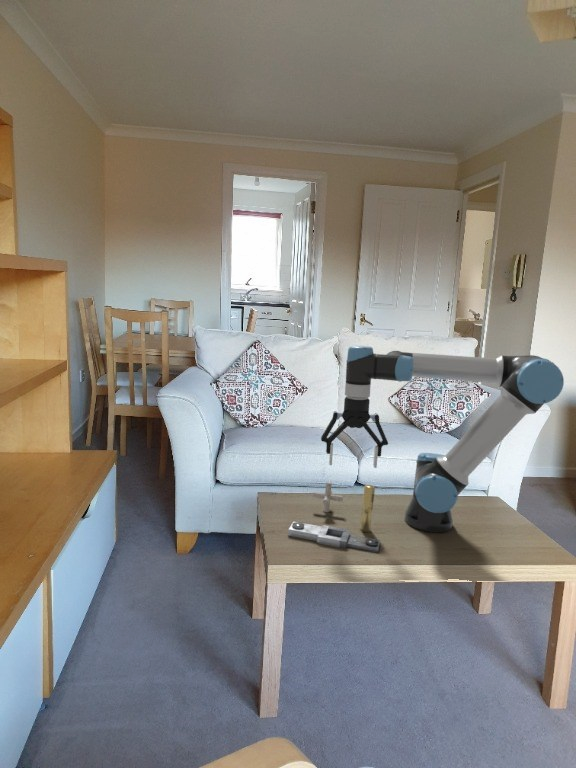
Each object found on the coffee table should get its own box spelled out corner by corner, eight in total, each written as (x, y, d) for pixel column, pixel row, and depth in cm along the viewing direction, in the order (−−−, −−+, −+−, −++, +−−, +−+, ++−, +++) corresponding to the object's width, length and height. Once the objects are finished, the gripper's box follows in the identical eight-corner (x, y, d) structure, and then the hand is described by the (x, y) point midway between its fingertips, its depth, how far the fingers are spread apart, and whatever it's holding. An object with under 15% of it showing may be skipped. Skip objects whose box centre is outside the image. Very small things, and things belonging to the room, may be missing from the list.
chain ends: (380, 541, 156) (381, 533, 156) (377, 554, 148) (378, 545, 148) (293, 526, 163) (294, 518, 162) (286, 537, 155) (287, 528, 154)
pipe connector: (339, 519, 170) (342, 489, 169) (309, 514, 172) (311, 485, 171) (342, 507, 180) (345, 479, 178) (313, 503, 182) (316, 475, 180)
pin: (370, 528, 165) (375, 485, 163) (369, 532, 162) (374, 489, 160) (360, 526, 166) (365, 484, 164) (359, 530, 163) (363, 487, 161)
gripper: (396, 397, 162) (391, 463, 166) (315, 393, 164) (312, 459, 167) (400, 401, 155) (395, 471, 158) (315, 397, 156) (312, 466, 159)
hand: (352, 465), depth 163 cm, fingers open, 13 cm apart
